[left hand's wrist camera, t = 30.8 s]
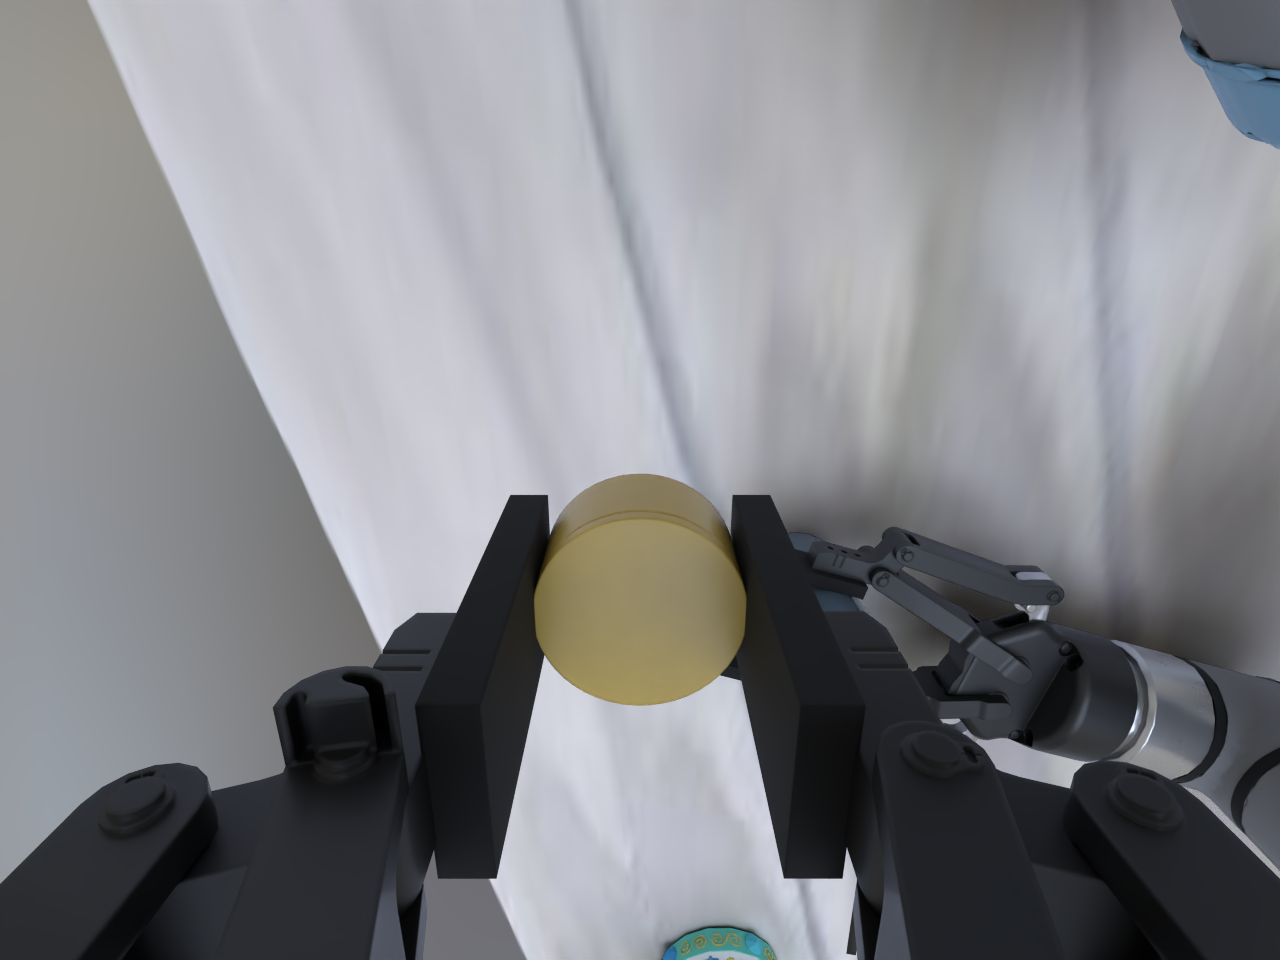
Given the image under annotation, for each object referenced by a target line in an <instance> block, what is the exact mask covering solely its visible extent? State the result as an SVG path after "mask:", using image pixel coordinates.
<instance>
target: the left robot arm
mask: <svg viewBox="0 0 1280 960" xmlns="http://www.w3.org/2000/svg"><path fill="white" fill-rule="evenodd" d="M1171 1H1172V3H1173V6H1174V8H1175V11H1176V13H1177V15H1178V18H1179V20H1180V23H1181V25H1182V31H1181V35H1180V39H1181V41H1182V44H1183V46H1184V49H1185V52H1186V53H1187V54H1188V56H1189V57H1190V58H1191V59H1192V61H1194V62H1195V63H1197V64H1198V65H1200V66H1201V67H1203V69H1204V71H1205V73H1206V75H1207V77H1208V79H1209V81H1210V83H1211V85H1212V87H1213V89H1214V91H1215V93H1216V95H1217V97H1218V99H1219V101H1220V103H1221V105H1222V107H1223V109H1224V111H1225V113H1226V115H1227V117H1228V119H1229V120H1230V122H1231V123H1232V124H1233V125H1234V126H1235V127H1236V128H1237V129H1238V130H1239V131H1240V132H1241V133H1242V134H1244V135H1245V136H1247V137H1248V138H1251V139H1254V140H1258V141H1261V142H1265V143H1267V144H1270V145H1272V146H1274V147H1275V148H1277V149H1280V0H1171ZM549 537H550V529H549V509H548V495H510V497H509V499H508V501H507V504H506V506H505V508H504V510H503V512H502V515H501V517H500V519H499V521H498V523H497V526H496V528H495V530H494V532H493V534H492V537H491V539H490V541H489V543H488V545H487V548H486V550H485V552H484V554H483V556H482V559H481V561H480V563H479V565H478V567H477V570H476V572H475V574H474V576H473V578H472V581H471V583H470V585H469V587H468V589H467V592H466V594H465V596H464V598H463V600H462V602H461V605H460V607H459V609H458V611H457V613H416V614H415V615H414V616H413V617H411V618H410V619H409V620H407V621H406V622H405V623H403V624H402V625H401V626H399V627H398V628H397V629H395V630H394V632H393V634H392V635H391V637H390V639H389V641H388V642H387V644H386V646H385V647H384V649H383V654H380V656H379V658H378V660H377V661H376V663H375V664H374V666H373V668H370V667H367V666H345V667H341V668H336V669H331V670H326V671H322V672H320V673H318V674H315V675H313V676H311V677H308V678H306V679H303V680H301V681H300V682H299V683H297V684H296V685H294V686H293V687H292V688H290V689H289V690H287V691H286V692H284V693H283V695H282V696H281V697H280V699H279V700H278V701H277V703H276V704H275V705H274V707H273V711H274V715H275V720H276V724H277V729H278V733H279V738H280V742H281V747H282V751H283V756H284V761H285V765H286V767H285V769H284V772H283V773H281V774H279V775H276V776H273V777H269V778H266V779H262V780H259V781H254V782H250V783H246V784H241V785H237V786H233V787H228V788H224V789H220V790H215V791H211V789H210V785H209V782H208V778H207V776H206V775H205V774H204V773H203V772H202V771H201V770H200V769H199V768H198V767H195V766H190V765H186V764H181V763H173V764H163V765H154V766H151V767H148V768H145V769H141V770H138V771H135V772H132V773H129V774H127V775H125V776H123V777H121V778H119V779H117V780H115V781H113V782H111V783H109V784H107V785H106V786H104V787H102V788H101V789H99V790H98V791H97V792H96V793H94V794H93V795H92V796H91V797H89V798H88V799H87V800H85V801H84V802H83V803H82V804H80V805H79V806H78V807H77V808H76V809H75V810H74V811H73V812H72V813H71V814H70V815H69V816H68V817H67V818H66V819H65V820H64V821H63V822H62V823H61V824H60V825H59V826H58V827H57V828H56V829H55V830H54V831H53V832H52V833H51V834H50V835H49V836H48V837H47V838H46V839H45V840H44V841H43V842H42V843H41V844H40V845H39V846H38V847H37V848H36V849H35V850H34V851H33V852H32V853H31V854H30V855H29V856H28V857H27V858H26V859H25V860H24V861H23V862H22V863H21V864H20V865H19V866H18V867H17V868H16V869H15V870H14V871H13V872H12V873H11V874H10V875H9V876H8V877H7V878H6V879H5V880H4V881H3V882H2V883H1V884H0V960H423V949H424V939H425V928H426V918H427V905H426V898H425V891H424V884H423V882H424V878H425V875H426V872H427V869H428V866H429V863H430V860H431V857H432V854H433V851H434V852H435V860H436V867H437V874H438V878H439V879H468V878H469V879H496V878H497V873H498V869H499V864H500V859H501V855H502V850H503V845H504V841H505V836H506V832H507V827H508V822H509V818H510V813H511V808H512V804H513V799H514V794H515V790H516V785H517V780H518V776H519V771H520V766H521V762H522V757H523V752H524V748H525V743H526V738H527V734H528V729H529V724H530V720H531V715H532V710H533V706H534V701H535V696H536V692H537V687H538V683H539V678H540V673H541V669H542V664H543V659H544V655H545V654H544V653H543V651H542V649H541V647H540V645H539V642H538V640H537V637H536V627H535V610H534V592H535V588H536V584H537V581H538V577H539V573H540V570H541V566H542V563H543V559H544V555H545V552H546V548H547V544H548V541H549ZM731 540H732V544H733V547H734V551H735V555H736V558H737V562H738V565H739V569H740V573H741V576H742V580H743V583H744V587H745V591H746V594H747V599H746V617H745V633H744V638H743V641H742V644H741V646H740V648H739V650H738V652H737V654H736V657H737V662H738V666H739V671H740V676H741V680H742V685H743V690H744V694H745V699H746V704H747V708H748V713H749V718H750V722H751V727H752V732H753V736H754V741H755V746H756V750H757V755H758V760H759V764H760V769H761V774H762V778H763V783H764V788H765V792H766V797H767V801H768V806H769V811H770V815H771V820H772V825H773V829H774V834H775V839H776V843H777V848H778V853H779V857H780V862H781V867H782V871H783V876H784V878H799V879H842V878H843V870H844V863H845V856H846V848H847V849H848V852H849V855H850V858H851V861H852V864H853V867H854V870H855V874H856V877H857V884H856V891H855V898H854V905H853V912H852V919H851V925H850V932H849V939H848V946H847V954H852V955H856V951H857V958H858V960H1280V878H1279V877H1278V876H1277V875H1276V874H1274V873H1273V872H1272V871H1271V870H1270V869H1269V868H1268V867H1267V866H1266V865H1265V864H1264V863H1263V862H1262V861H1261V860H1260V859H1259V858H1258V857H1257V856H1256V855H1255V854H1254V853H1253V852H1252V851H1251V850H1250V849H1249V848H1248V847H1247V846H1246V845H1245V844H1244V843H1243V842H1242V841H1241V840H1240V839H1239V838H1238V837H1237V836H1236V835H1235V834H1234V833H1233V832H1232V831H1231V830H1230V829H1229V828H1228V827H1227V826H1226V825H1225V824H1224V823H1223V822H1222V821H1221V820H1220V819H1219V818H1218V817H1217V816H1216V815H1215V814H1214V813H1213V812H1212V811H1211V810H1210V809H1209V808H1207V807H1206V806H1205V805H1204V804H1203V803H1202V802H1201V801H1200V800H1199V799H1198V798H1196V797H1195V796H1194V795H1192V794H1191V793H1190V792H1189V791H1187V790H1186V789H1185V788H1184V787H1182V786H1181V785H1180V784H1178V783H1176V782H1174V781H1172V780H1170V779H1168V778H1166V777H1164V776H1163V775H1161V774H1159V773H1157V772H1155V771H1153V770H1149V769H1146V768H1143V767H1140V766H1137V765H1134V764H1130V763H1127V762H1118V761H1108V760H1100V761H1096V762H1091V763H1086V764H1084V765H1083V766H1082V767H1081V768H1080V769H1079V770H1078V771H1077V772H1076V773H1074V776H1073V780H1072V784H1071V787H1070V789H1069V788H1065V787H1061V786H1056V785H1052V784H1048V783H1043V782H1039V781H1035V780H1030V779H1026V778H1021V777H1018V776H1015V775H1011V774H1008V773H1005V772H1002V771H999V770H997V769H996V768H995V765H994V764H993V762H992V761H991V759H990V758H989V756H988V754H987V753H986V751H985V750H984V749H983V748H982V747H981V746H979V745H978V744H977V743H976V742H974V741H973V740H972V739H971V738H969V737H968V736H967V735H965V734H962V733H960V732H958V731H956V730H954V729H952V728H950V727H948V726H945V725H943V723H942V722H941V720H940V718H939V717H938V715H937V713H936V712H935V710H934V708H933V707H932V705H931V703H930V701H929V700H928V698H927V696H926V695H925V693H924V691H923V690H922V688H921V686H920V684H919V683H918V681H917V679H916V678H915V676H914V674H913V673H912V671H911V669H908V664H907V662H906V661H905V659H904V657H903V656H902V654H901V652H898V647H897V645H896V644H895V642H894V640H893V639H892V637H891V635H890V633H889V632H888V630H887V628H886V627H884V626H883V625H882V624H880V623H879V622H878V621H876V620H875V619H874V618H872V617H871V616H870V615H869V614H867V613H866V612H865V611H823V610H822V608H821V606H820V604H819V601H818V599H817V597H816V595H815V593H814V590H813V588H812V586H811V584H810V582H809V579H808V577H807V575H806V573H805V571H804V568H803V566H802V564H801V562H800V560H799V558H798V555H797V553H796V551H795V549H794V547H793V544H792V542H791V540H790V538H789V536H788V533H787V531H786V529H785V527H784V525H783V522H782V520H781V518H780V516H779V514H778V511H777V509H776V507H775V505H774V503H773V500H772V498H771V496H770V495H733V498H732V518H731Z"/></svg>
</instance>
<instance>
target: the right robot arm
mask: <svg viewBox="0 0 1280 960" xmlns="http://www.w3.org/2000/svg"><path fill="white" fill-rule="evenodd" d="M795 551H796V553H797V555H798V558H799V560H800V562H801V564H802V566H803V568H804V571H805V573H806V575H807V577H808V579H809V582H810V584H811V586H813V587H817V588H821V589H825V590H828V591H832V592H836V593H840V594H844V595H847V596H851V597H855V598H859V599H863V598H864V596H865V594H866V592H867V589H868V587H867V585H866V584H865V583H867V584H870V585H872V586H873V587H874V588H875V589H876V590H878V591H879V592H881V593H882V594H884V595H885V596H887V597H888V598H890V599H891V600H893V601H895V602H896V603H898V604H899V605H901V606H902V607H904V608H905V609H907V610H908V611H910V612H911V613H913V614H915V615H916V616H918V617H919V618H921V619H922V620H924V621H925V622H927V623H928V624H930V625H932V626H933V627H935V628H936V629H938V630H939V631H941V632H942V633H944V634H945V635H947V636H948V637H950V638H952V640H951V643H950V647H949V652H948V654H947V655H946V656H945V657H944V658H943V660H942V661H941V662H940V663H939V665H938V666H922V667H918V668H917V670H916V671H914V672H912V673H913V674H914V676H915V678H916V679H917V681H918V683H919V684H920V686H921V688H922V690H923V691H924V693H925V695H926V696H927V698H928V700H929V701H930V703H931V705H932V707H933V708H934V710H935V712H936V713H937V715H938V717H939V718H940V719H956V718H959V719H960V720H961V721H960V722H958V723H956V724H947V723H943V722H942V720H941V722H942V723H943V725H945V726H948V727H950V728H952V729H954V730H956V731H958V732H960V733H962V734H965V735H967V736H968V737H969V738H971V739H972V740H973V741H974V742H975V741H976V740H977V739H978V738H979V739H982V740H991V739H997V738H1008V739H1011V740H1013V741H1016V742H1018V743H1020V744H1022V745H1024V746H1027V747H1029V748H1031V749H1034V750H1038V751H1042V752H1046V753H1050V754H1054V755H1058V756H1062V757H1066V758H1070V759H1074V760H1078V761H1084V762H1090V763H1091V762H1096V761H1100V760H1108V761H1118V762H1127V763H1130V764H1134V765H1137V766H1140V767H1143V768H1146V769H1149V770H1153V771H1155V772H1157V773H1159V774H1161V775H1163V776H1164V777H1166V778H1168V779H1170V780H1172V781H1174V782H1176V783H1178V784H1180V785H1181V786H1184V787H1187V788H1191V789H1195V790H1198V791H1199V792H1201V793H1203V794H1205V795H1206V796H1207V797H1209V798H1210V799H1211V800H1212V801H1213V802H1214V803H1215V804H1216V805H1217V806H1218V807H1219V808H1220V809H1221V810H1222V811H1223V813H1224V814H1225V815H1226V816H1227V817H1228V818H1229V819H1230V820H1231V821H1232V822H1233V823H1234V824H1235V825H1236V826H1237V827H1238V828H1239V829H1240V830H1241V831H1242V832H1243V833H1244V834H1245V835H1246V836H1247V837H1248V838H1249V839H1250V840H1251V841H1252V842H1253V843H1254V844H1255V845H1256V846H1257V848H1258V849H1259V850H1260V851H1261V852H1262V853H1263V854H1264V855H1265V856H1266V857H1267V858H1268V859H1269V860H1270V861H1271V862H1272V863H1273V864H1274V865H1275V866H1276V867H1277V868H1278V870H1279V871H1280V682H1278V681H1276V680H1274V679H1271V678H1263V677H1258V676H1251V675H1247V674H1243V673H1239V672H1235V671H1231V670H1227V669H1223V668H1219V667H1215V666H1211V665H1208V664H1204V663H1200V662H1196V661H1192V660H1188V659H1185V658H1180V657H1177V656H1173V655H1170V654H1167V653H1163V652H1159V651H1155V650H1151V649H1148V648H1144V647H1140V646H1136V645H1133V644H1129V643H1125V642H1121V641H1118V640H1109V639H1107V638H1105V637H1103V636H1100V635H1096V634H1093V633H1089V632H1085V631H1081V630H1078V629H1074V628H1070V627H1066V626H1063V625H1059V624H1054V623H1049V622H1048V621H1047V616H1048V612H1049V608H1050V606H1051V605H1056V604H1058V603H1060V602H1061V601H1062V600H1063V597H1064V591H1063V589H1062V588H1061V587H1060V586H1059V585H1057V584H1056V583H1055V582H1054V581H1053V580H1052V579H1051V578H1050V577H1049V576H1047V575H1046V574H1045V573H1044V572H1043V571H1042V570H1041V569H1040V568H1038V567H1037V566H1006V565H1001V564H998V563H996V562H993V561H990V560H987V559H984V558H982V557H979V556H976V555H973V554H970V553H968V552H965V551H962V550H959V549H956V548H954V547H951V546H948V545H945V544H942V543H940V542H937V541H934V540H931V539H928V538H926V537H923V536H920V535H917V534H914V533H912V532H909V531H906V530H903V529H900V528H898V527H891V528H888V529H887V530H885V532H884V533H883V535H882V541H881V542H880V543H879V544H878V545H877V547H875V548H874V549H873V547H871V546H863V547H861V548H859V549H858V550H853V549H850V548H846V547H842V546H838V545H835V544H831V543H828V542H824V541H816V542H812V544H811V546H810V548H809V551H808V552H805V551H801V550H797V549H795ZM903 566H906V567H909V568H912V569H915V570H917V571H920V572H923V573H926V574H929V575H932V576H935V577H937V578H940V579H943V580H946V581H949V582H952V583H955V584H957V585H960V586H963V587H966V588H969V589H972V590H975V591H977V592H980V593H983V594H986V595H989V596H992V597H995V598H997V599H1000V600H1003V601H1006V602H1010V603H1012V604H1013V605H1014V606H1015V607H1016V608H1017V609H1018V610H1020V611H1017V612H1013V613H1010V614H1006V615H1003V616H1000V617H996V618H993V619H989V620H986V621H981V620H980V619H978V618H977V617H975V616H974V615H972V614H971V613H969V612H968V611H966V610H965V609H963V608H962V607H960V606H959V605H954V604H953V603H951V602H950V601H948V600H947V599H945V598H944V597H942V596H941V595H939V594H938V593H936V592H935V591H933V590H932V589H930V588H929V587H927V586H926V585H924V584H923V583H921V582H920V581H918V580H916V579H915V578H913V577H912V576H910V575H909V574H907V573H906V572H904V571H903V570H901V569H902V568H903ZM720 675H721V676H725V677H729V678H733V679H737V680H741V676H740V671H739V666H738V662H737V657H736V655H735V657H734V658H733V660H732V661H731V663H730V664H729V665H728V667H727V668H726V669H725V670H724V671H723V672H722V673H721V674H720ZM741 681H742V680H741Z"/></svg>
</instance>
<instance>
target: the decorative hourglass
mask: <svg viewBox="0 0 1280 960" xmlns="http://www.w3.org/2000/svg"><path fill="white" fill-rule="evenodd" d="M663 960H777V958H776V957H775V955H774V953H773V951H772V950H771V948H770V946H769V945H768V944H767V943H765V942H764V941H762V940H761V939H760V938H758V937H757V936H755V935H754V934H752V933H748V932H744V931H741V930H737V929H733V928H707V929H704V930H701V931H698V932H694V933H691V934H688V935H685V936H684V937H683V938H681V939H680V940H679V941H677V942H676V943H675V944H673V945H672V946H671V947H669V948H668V949H667V951H666V952H665V954H664V956H663Z"/></svg>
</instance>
